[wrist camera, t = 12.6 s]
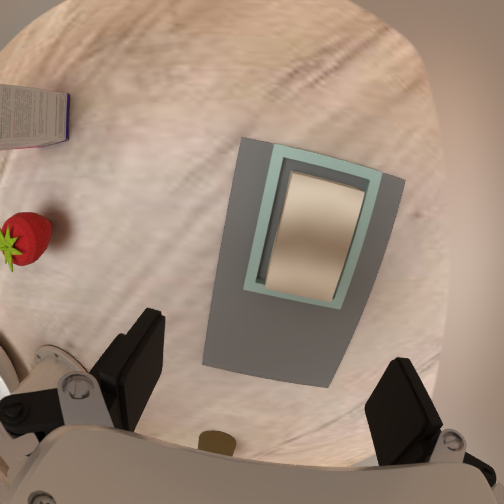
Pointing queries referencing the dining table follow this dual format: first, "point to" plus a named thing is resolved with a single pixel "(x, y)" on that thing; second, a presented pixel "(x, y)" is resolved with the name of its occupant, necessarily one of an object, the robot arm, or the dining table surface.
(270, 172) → the teal frame
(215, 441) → the cork
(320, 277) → the beige block
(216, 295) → the charcoal mat
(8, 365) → the serving bowl
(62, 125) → the supplement box
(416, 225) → the dining table surface
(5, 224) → the strawberry
